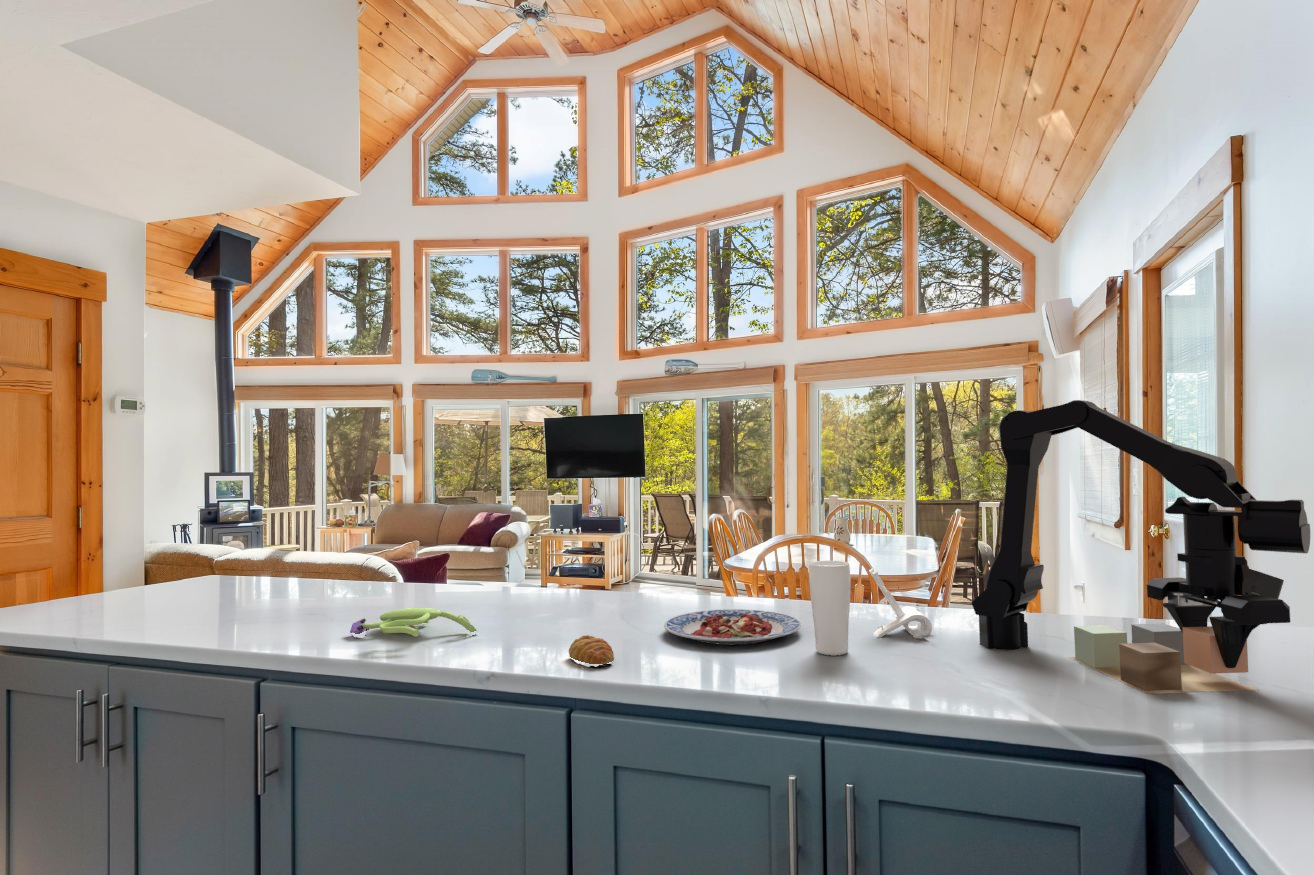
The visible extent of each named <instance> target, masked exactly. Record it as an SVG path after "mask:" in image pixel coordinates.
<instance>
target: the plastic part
mask: <svg viewBox="0 0 1314 875" xmlns="http://www.w3.org/2000/svg"><path fill="white" fill-rule="evenodd" d="M874 570H875V568H873V567H872V568H871V569H869V570H868V571H869V573H870V575H871V576H872V578H873V580H874V582H875V583H876V584H877V586H878V588H879V589H880V591H881V593H882V594H883V596H884V597H885V599H886V601H887V602H888V604H889V606H890V608H891V609H892V610H893V612H894V613H895V615H896V617H895V619H896V620H894V621H892V622H890V623H887V624H884V625H882V624H881V625H879V626H877V628H878V629H876V630H875V631H874V632H873V633H872V636H873V637H874V638H877V639H879V638H880V639H881V638H882V637H884V636H885V635H887V634H888V633H891V632H893V631H894V630H897V629H899V628H900V627H902V626H903V628H904V629H905V630H906V631H907V632H908V633H909V634H910V635H911V636H912V635H913V636H912V637H913V638H914V639H925V637H924V636H927V637H928V636H930V635H931V634H932V630H933V626H932V622H931V620H930V619H929V618H928V617H927V616H926V615H925V614H923V613H922V612H921V611H920V610H919V608H916V607H915V606H912V605H911V606H903V607H901V606H900V605H899V603H898V602H897V600H896V599H895V598H894V596H893V595H892V593H891V591H890V590H888V589H887V588H886V586H885V583H884V581H883V580H882V578H881V577H880V575H879V572H878V571H877V570H876V571H874ZM911 622H917V623H916V624H915V625H909V624H910V623H911Z"/></svg>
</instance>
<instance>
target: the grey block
mask: <svg viewBox="0 0 1314 875" xmlns="http://www.w3.org/2000/svg"><path fill="white" fill-rule="evenodd" d="M1130 627H1131V643H1157V644H1160V645H1163V646H1165V647H1168V648H1171V649H1174V650H1177V651H1179V652H1180V658H1181V665H1188V664H1185V663H1184V647H1183V633H1182V631H1181V630H1180V628H1179V627H1176V626H1172V625H1169V624H1166V623H1161V622H1160V623H1159V622H1158V623H1133V624H1131V626H1130Z"/></svg>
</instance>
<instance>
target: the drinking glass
mask: <svg viewBox="0 0 1314 875" xmlns="http://www.w3.org/2000/svg"><path fill="white" fill-rule="evenodd" d="M808 567H809V568H808V570H809V571H808V578H809V581H808V582H809V583H808V584H809V592H810V602H811V610H812V618H813V630H814V638H815V649H816V652H817V653H818V654H821V655H824V656H829V655H831V657H833V656H834V657H837V655H838V656H843V655H846V654H847V653H848V652H849V630H850V629H849V628H850V627H849V626H850V607H851V606H850V605H851V570H850V563H849V562H847V561H842V560H815V561H811V562H809V565H808Z"/></svg>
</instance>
